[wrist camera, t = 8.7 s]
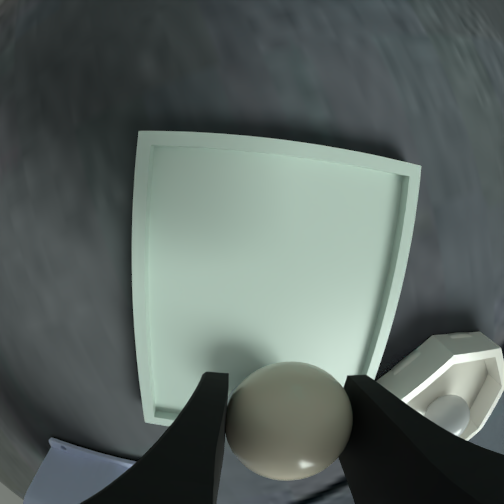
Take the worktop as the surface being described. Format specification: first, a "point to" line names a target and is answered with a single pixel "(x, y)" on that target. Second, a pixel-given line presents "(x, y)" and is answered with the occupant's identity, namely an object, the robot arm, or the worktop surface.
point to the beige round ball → (288, 420)
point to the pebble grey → (449, 413)
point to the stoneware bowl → (451, 375)
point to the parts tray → (262, 259)
